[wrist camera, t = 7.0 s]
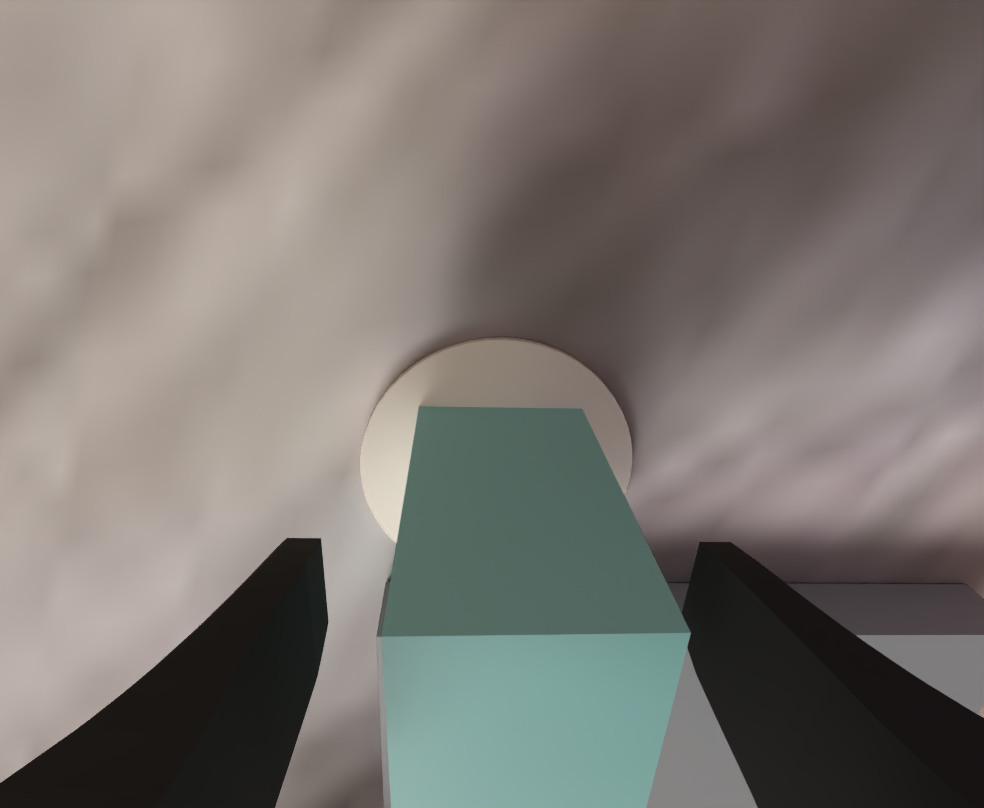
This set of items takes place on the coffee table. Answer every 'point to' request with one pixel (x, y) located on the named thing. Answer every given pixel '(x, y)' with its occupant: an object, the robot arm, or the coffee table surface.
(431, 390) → the coaster
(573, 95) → the coffee table surface
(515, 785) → the peg
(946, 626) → the pocket board
